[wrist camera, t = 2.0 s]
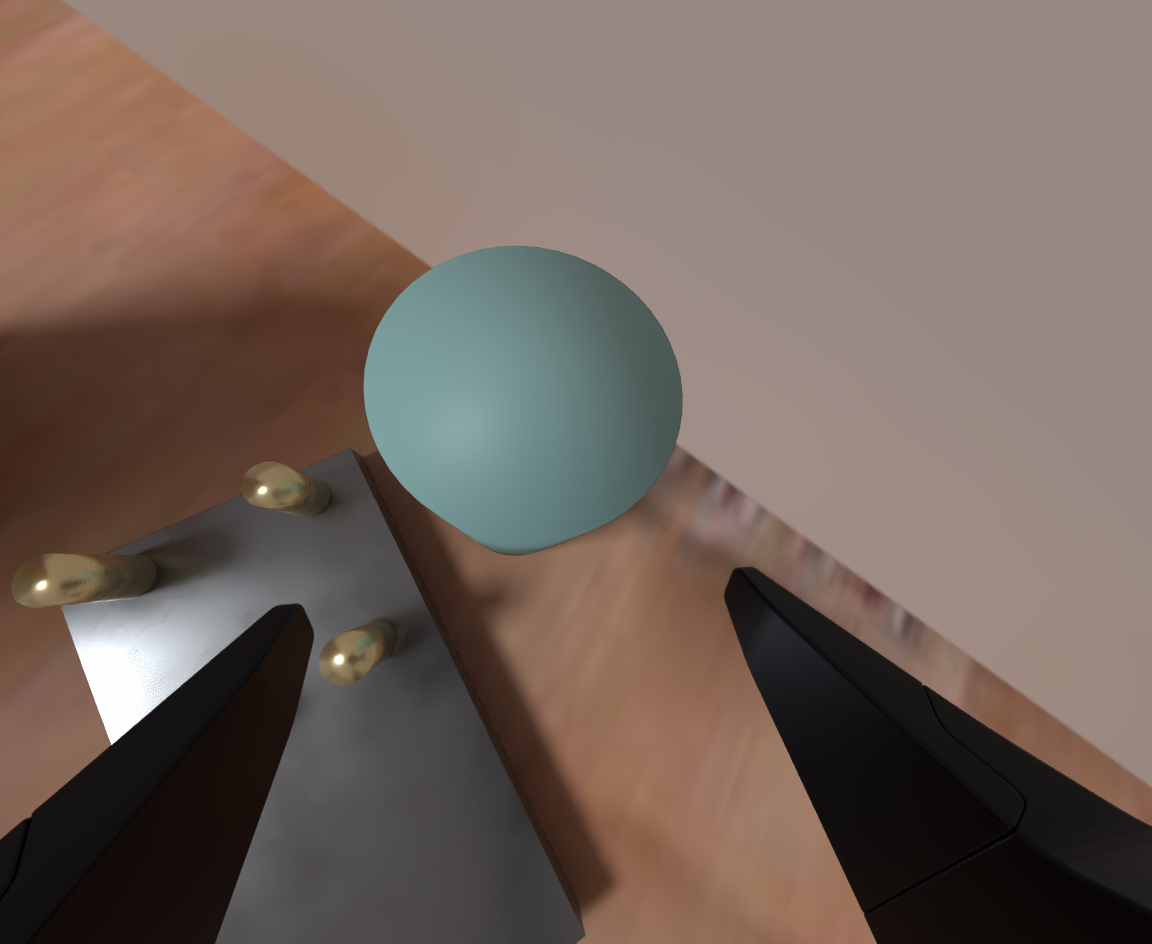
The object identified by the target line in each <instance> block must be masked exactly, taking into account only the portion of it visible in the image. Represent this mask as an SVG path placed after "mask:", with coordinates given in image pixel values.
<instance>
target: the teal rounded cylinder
mask: <svg viewBox="0 0 1152 944" xmlns="http://www.w3.org/2000/svg"><path fill="white" fill-rule="evenodd" d="M363 389H364V401H365V410H366V415H367V419H368V423H369V427H370V431H371V433H372V436H373V438H374V441H375V443H376V446H377V448H378V450H379V452H380V454H381V456H382V457H383V459H384V461H385V462H386V464H387V466H388V468H389V469H390V470H391V472H392V473H393V474H394V476H395V477H396V478H397V479H398V481H399V482H400V483H401V484H402V486H403V487H404V488H405V489H406V490H407V491H408V492H409V493H411V494H412V495H413V496H414V497H415V498H416V499H417V500H418V501H419V502H420V503H421V504H423V505H424V506H426V507H427V508H428V509H430V510H431V511H433V512H434V513H435V514H437V515H438V516H440V517H441V518H443V519H444V520H446V521H447V522H449V523H450V524H452V525H453V526H455V527H456V528H458V529H459V530H461V531H462V532H464V533H465V534H467V535H468V536H470V537H471V538H473V539H474V540H476V541H477V542H479V543H480V544H482V545H483V546H485V547H486V548H488V549H490V550H492V551H495V552H498V553H501V554H505V555H514V556H517V555H527V554H531V553H535V552H538V551H540V550H543V549H545V548H548V547H551V546H553V545H556V544H558V543H561V542H563V541H566V540H568V539H571V538H574V537H576V536H579V535H581V534H584V533H586V532H589V531H591V530H594V529H596V528H598V527H600V526H602V525H604V524H606V523H608V522H610V521H612V520H613V519H615V518H616V517H618V516H619V515H621V514H623V513H624V512H626V511H627V510H628V509H629V508H631V507H632V506H633V505H634V504H635V503H636V502H637V501H639V500H640V499H641V498H642V497H643V496H644V495H645V494H646V493H647V491H648V490H649V489H650V488H651V487H652V486H653V484H654V483H655V482H656V481H657V479H658V477H659V476H660V474H661V473H662V471H663V470H664V468H665V467H666V465H667V463H668V460H669V458H670V456H671V454H672V452H673V450H674V447H675V443H676V440H677V437H678V433H679V429H680V423H681V417H682V396H683V394H682V385H681V377H680V372H679V369H678V364H677V360H676V357H675V354H674V352H673V349H672V347H671V344H670V342H669V340H668V338H667V336H666V334H665V332H664V330H663V328H662V326H661V325H660V323H659V322H658V320H657V319H656V318H655V317H654V315H653V313H652V312H651V310H650V309H649V308H648V307H647V306H646V305H645V304H644V302H643V301H642V300H641V299H640V298H639V297H638V296H637V295H636V294H635V293H634V292H633V291H631V290H630V289H629V288H628V287H627V286H626V285H625V284H624V283H622V282H621V281H619V280H618V279H617V278H615V277H614V276H613V275H611V274H610V273H608V272H606V271H605V270H603V269H601V268H599V267H597V266H596V265H594V264H592V263H589V262H587V261H585V260H582V259H580V258H578V257H575V256H572V255H569V254H565V253H562V252H559V251H554V250H549V249H544V248H539V247H527V246H503V247H495V248H487V249H481V250H478V251H474V252H470V253H467V254H463V255H460V256H458V257H455V258H453V259H451V260H448V261H445V262H443V263H442V264H440V265H438V266H436V267H434V268H433V269H431V270H429V271H427V272H426V273H425V274H423V275H422V276H421V277H419V278H418V279H417V280H415V281H414V282H413V283H411V284H410V285H409V286H408V287H407V288H406V289H405V290H404V291H403V292H402V293H401V294H400V295H399V296H398V297H397V299H396V300H395V301H394V303H393V304H392V305H391V306H390V308H389V309H388V310H387V312H386V313H385V315H384V317H383V318H382V320H381V322H380V324H379V326H378V327H377V329H376V332H375V334H374V337H373V339H372V342H371V345H370V347H369V351H368V356H367V360H366V365H365V372H364V388H363Z"/></svg>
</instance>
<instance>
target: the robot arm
mask: <svg viewBox="0 0 1152 944" xmlns="http://www.w3.org/2000/svg"><path fill="white" fill-rule="evenodd" d="M724 598H725V603H726V606H727V608H728V611H729V614H730V617H731V620H732V623H733V626H734V628H735V631H736V634H737V637H738V640H739V643H740V645H741V648H742V651H743V654H744V657H745V659H746V662H747V664H748V667H749V669H750V671H751V674H752V676H753V678H754V680H755V682H756V685H757V687H758V689H759V691H760V693H761V695H762V697H763V700H764V702H765V704H766V706H767V708H768V710H769V712H770V715H771V717H772V719H773V721H774V723H775V725H776V727H777V730H778V732H779V734H780V736H781V738H782V740H783V742H784V745H785V747H786V749H787V751H788V753H789V755H790V757H791V760H792V762H793V764H794V766H795V768H796V770H797V772H798V775H799V777H800V779H801V781H802V783H803V785H804V787H805V790H806V792H807V794H808V796H809V798H810V800H811V802H812V805H813V807H814V809H815V811H816V813H817V815H818V817H819V820H820V822H821V824H822V826H823V828H824V830H825V832H826V835H827V837H828V839H829V841H830V843H831V845H832V847H833V850H834V852H835V854H836V856H837V858H838V860H839V862H840V865H841V867H842V869H843V871H844V873H845V875H846V877H847V880H848V882H849V884H850V886H851V888H852V890H853V892H854V895H855V897H856V899H857V901H858V903H859V905H860V907H861V910H862V911H863V912H864V917H865V919H866V921H867V923H868V925H869V927H870V930H871V932H872V934H873V936H874V938H875V940H876V942H877V944H1152V826H1150V825H1148V824H1146V823H1144V822H1142V821H1140V820H1139V819H1137V818H1135V817H1133V816H1131V815H1129V814H1128V813H1126V812H1124V811H1123V810H1121V809H1119V808H1118V807H1116V806H1114V805H1113V804H1111V803H1109V802H1108V801H1106V800H1104V799H1103V798H1101V797H1100V796H1098V795H1096V794H1095V793H1093V792H1091V791H1090V790H1088V789H1087V788H1085V787H1083V786H1082V785H1080V784H1078V783H1077V782H1075V781H1074V780H1072V779H1070V778H1069V777H1067V776H1065V775H1064V774H1062V773H1061V772H1059V771H1057V770H1056V769H1054V768H1052V767H1051V766H1049V765H1048V764H1046V763H1044V762H1043V761H1041V760H1040V759H1038V758H1036V757H1035V756H1033V755H1031V754H1030V753H1028V752H1027V751H1025V750H1023V749H1022V748H1020V747H1018V746H1017V745H1015V744H1014V743H1012V742H1011V741H1009V740H1007V739H1006V738H1004V737H1003V736H1001V735H1000V734H998V733H996V732H995V731H993V730H992V729H990V728H988V727H987V726H985V725H984V724H982V723H981V722H979V721H978V720H976V719H975V718H973V717H972V716H970V715H969V714H967V713H966V712H964V711H963V710H961V709H960V708H958V707H957V706H955V705H954V704H952V703H951V702H949V701H948V700H946V699H945V698H943V697H942V696H940V695H939V694H937V693H936V692H935V691H933V690H932V689H930V688H929V687H927V686H925V685H922V683H921V682H920V681H918V680H917V679H915V678H914V677H913V676H911V675H910V674H908V673H907V672H905V671H904V670H902V669H901V668H899V667H898V666H897V665H895V664H894V663H892V662H891V661H889V660H888V659H886V658H885V657H884V656H882V655H881V654H879V653H878V652H876V651H875V650H873V649H872V648H870V647H869V646H868V645H866V644H865V643H863V642H862V641H860V640H859V639H857V638H856V637H854V636H853V635H852V634H850V633H849V632H847V631H846V630H844V629H843V628H841V627H840V626H838V625H837V624H836V623H834V622H833V621H831V620H830V619H828V618H827V617H825V616H824V615H822V614H821V613H820V612H818V611H817V610H815V609H814V608H812V607H811V606H809V605H808V604H806V603H805V602H804V601H802V600H801V599H799V598H798V597H796V596H795V595H793V594H792V593H790V592H789V591H788V590H786V589H785V588H783V587H782V586H780V585H779V584H777V583H776V582H774V581H773V580H772V579H770V578H769V577H767V576H766V575H764V574H763V573H761V572H760V571H758V570H757V569H755V568H753V567H738V568H735V569H734V570H733V571H732V574H731V576H730V579H729V581H728V584H727V587H726V589H725V594H724ZM313 642H314V630H313V627H312V625H311V623H310V620H309V618H308V616H307V614H306V612H305V609H304V607H303V606H302V605H301V604H299V603H293V604H281V605H277V606H274V607H273V608H271V609H270V610H269V611H268V612H266V613H265V614H264V615H263V616H262V617H261V618H259V619H258V620H257V621H256V622H255V623H254V624H252V625H251V626H250V627H249V628H248V629H247V630H245V631H244V632H243V633H242V634H241V635H240V636H238V637H237V638H236V639H235V640H234V641H232V642H231V643H230V644H229V645H228V646H227V647H225V648H224V649H223V650H222V651H221V652H220V653H218V654H217V655H216V656H215V657H214V658H213V659H211V660H210V661H209V662H208V663H207V664H206V665H204V666H203V667H202V668H201V669H200V670H199V671H197V672H196V673H195V674H194V675H193V676H192V677H190V678H189V679H188V680H187V681H186V682H185V683H183V684H182V685H181V686H180V687H179V688H178V689H176V690H175V691H174V692H173V693H172V694H170V695H169V696H168V697H167V698H166V699H165V700H163V701H162V702H161V703H160V704H159V705H158V706H156V707H155V708H154V709H153V710H152V711H151V712H149V713H148V714H147V715H146V716H145V717H144V718H142V719H141V720H140V721H139V722H138V723H137V724H135V725H134V726H133V727H132V728H131V729H130V730H128V731H127V732H126V733H125V734H124V735H123V736H121V737H120V738H119V739H118V740H117V741H116V742H114V743H113V744H112V745H111V746H110V747H108V748H107V749H106V750H105V751H104V752H103V753H101V754H100V755H99V756H98V757H97V758H96V759H94V760H93V761H92V762H91V763H90V764H89V765H87V766H86V767H85V768H84V769H83V770H82V771H80V772H79V773H78V774H77V775H76V776H75V777H73V778H72V779H71V780H70V781H69V782H68V783H66V784H65V785H64V786H63V787H62V788H61V789H59V790H58V791H57V792H56V793H55V794H54V795H52V796H51V797H50V798H49V799H48V800H47V801H45V802H44V803H43V804H42V805H41V806H39V807H38V808H37V809H36V810H35V811H34V812H33V813H32V816H31V818H26V819H24V820H23V821H22V822H20V823H19V824H18V825H17V826H16V827H15V828H13V829H12V830H11V831H10V832H9V833H8V834H6V835H5V836H4V837H3V838H2V839H1V840H0V944H215V943H216V940H217V937H218V934H219V932H220V929H221V926H222V923H223V920H224V918H225V915H226V912H227V909H228V906H229V904H230V901H231V898H232V895H233V892H234V890H235V887H236V884H237V881H238V878H239V876H240V873H241V870H242V867H243V864H244V862H245V859H246V856H247V853H248V850H249V848H250V845H251V842H252V839H253V836H254V834H255V831H256V828H257V825H258V822H259V820H260V817H261V814H262V811H263V808H264V806H265V803H266V800H267V797H268V794H269V792H270V789H271V786H272V783H273V780H274V778H275V775H276V772H277V769H278V767H279V764H280V761H281V758H282V755H283V753H284V750H285V747H286V744H287V741H288V739H289V736H290V733H291V729H292V726H293V723H294V720H295V716H296V712H297V708H298V704H299V700H300V696H301V692H302V688H303V684H304V679H305V675H306V671H307V667H308V663H309V659H310V655H311V650H312V646H313Z"/></svg>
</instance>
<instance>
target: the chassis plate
mask: <svg viewBox="0 0 1152 944" xmlns="http://www.w3.org/2000/svg"><path fill="white" fill-rule="evenodd" d="M241 492H242V495H240V496H238V497H236V498H233V499H231V500H229V501H226V502H224V503H222V504H219V505H217V506H215V507H212V508H210V509H208V510H205V511H203V512H201V513H198V514H196V515H194V516H192V517H189V518H187V519H185V520H182V521H180V522H178V523H175V524H173V525H171V526H168V527H166V528H164V529H161V530H159V531H157V532H154V533H152V534H150V535H147V536H145V537H143V538H140V539H138V540H136V541H133V542H131V543H129V544H126V545H124V546H122V547H120V548H117V549H115V550H113V551H110V552H108V553H106V554H103V555H101V554H52V553H51V554H42V555H38V556H36V557H33V558H31V559H29V560H28V561H26V562H25V563H24V564H22V565H21V566H20V567H19V568H18V570H17V571H16V572H15V574H14V576H13V578H12V581H11V593H12V595H13V597H14V599H15V600H16V601H17V602H18V603H19V604H21V605H23V606H26V607H30V608H41V607H52V606H61V609H62V611H63V614H64V617H65V620H66V622H67V625H68V628H69V630H70V633H71V636H72V639H73V641H74V644H75V647H76V649H77V652H78V655H79V658H80V660H81V663H82V666H83V668H84V671H85V674H86V677H87V679H88V682H89V685H90V687H91V690H92V693H93V696H94V698H95V701H96V704H97V707H98V709H99V712H100V715H101V717H102V720H103V723H104V726H105V728H106V731H107V734H108V736H109V739H110V742H111V745H112V744H113V743H114V742H116V741H117V740H118V739H119V738H120V737H121V736H123V735H124V734H125V733H126V732H127V731H128V730H130V729H131V728H132V727H133V726H134V725H135V724H137V723H138V722H139V721H140V720H141V719H142V718H144V717H145V716H146V715H147V714H148V713H149V712H151V711H152V710H153V709H154V708H155V707H156V706H158V705H159V704H160V703H161V702H162V701H163V700H165V699H166V698H167V697H168V696H169V695H170V694H172V693H173V692H174V691H175V690H176V689H178V688H179V687H180V686H181V685H182V684H183V683H185V682H186V681H187V680H188V679H189V678H190V677H192V676H193V675H194V674H195V673H196V672H197V671H199V670H200V669H201V668H202V667H203V666H204V665H206V664H207V663H208V662H209V661H210V660H211V659H213V658H214V657H215V656H216V655H217V654H218V653H220V652H221V651H222V650H223V649H224V648H225V647H227V646H228V645H229V644H230V643H231V642H232V641H234V640H235V639H236V638H237V637H238V636H240V635H241V634H242V633H243V632H244V631H245V630H247V629H248V628H249V627H250V626H251V625H252V624H254V623H255V622H256V621H257V620H258V619H259V618H261V617H262V616H263V615H264V614H265V613H266V612H268V611H269V610H270V609H271V608H273V607H274V606H277V605H281V604H293V603H299V604H301V605H302V606H303V607H304V609H305V612H306V614H307V616H308V618H309V620H310V623H311V625H312V627H313V630H314V642H313V646H312V650H311V655H310V659H309V663H308V667H307V671H306V675H305V679H304V684H303V688H302V692H301V696H300V700H299V704H298V708H297V712H296V716H295V720H294V723H293V726H292V729H291V733H290V736H289V739H288V741H287V744H286V747H285V750H284V753H283V755H282V758H281V761H280V764H279V767H278V769H277V772H276V775H275V778H274V780H273V783H272V786H271V789H270V792H269V794H268V797H267V800H266V803H265V806H264V808H263V811H262V814H261V817H260V820H259V822H258V825H257V828H256V831H255V834H254V836H253V839H252V842H251V845H250V848H249V850H248V853H247V856H246V859H245V862H244V864H243V867H242V870H241V873H240V876H239V878H238V881H237V884H236V887H235V890H234V892H233V895H232V898H231V901H230V904H229V906H228V909H227V912H226V915H225V918H224V920H223V923H222V926H221V929H220V932H219V934H218V937H217V940H216V943H215V944H576V943H577V942H578V941H579V940H581V939H582V938H583V937H584V936H585V931H584V927H583V922H582V917H581V912H580V907H579V903H578V901H577V899H576V896H575V894H574V892H573V890H572V888H571V886H570V884H569V882H568V880H567V878H566V876H565V874H564V872H563V870H562V868H561V866H560V863H559V861H558V859H557V857H556V855H555V853H554V851H553V849H552V847H551V845H550V843H549V841H548V839H547V837H546V835H545V833H544V830H543V828H542V826H541V824H540V822H539V820H538V818H537V816H536V814H535V812H534V810H533V808H532V806H531V804H530V802H529V800H528V797H527V795H526V793H525V791H524V789H523V787H522V785H521V783H520V781H519V779H518V777H517V775H516V773H515V771H514V769H513V767H512V764H511V762H510V760H509V758H508V756H507V754H506V752H505V750H504V748H503V746H502V744H501V742H500V740H499V738H498V736H497V734H496V731H495V729H494V727H493V725H492V723H491V721H490V719H489V717H488V715H487V713H486V711H485V709H484V707H483V705H482V703H481V700H480V698H479V696H478V694H477V692H476V690H475V688H474V686H473V684H472V682H471V680H470V678H469V676H468V674H467V672H466V670H465V667H464V665H463V663H462V661H461V659H460V657H459V655H458V653H457V651H456V649H455V647H454V645H453V643H452V641H451V639H450V637H449V634H448V632H447V630H446V628H445V626H444V624H443V622H442V620H441V618H440V616H439V614H438V612H437V610H436V608H435V606H434V604H433V601H432V599H431V597H430V595H429V593H428V591H427V589H426V587H425V585H424V583H423V581H422V579H421V577H420V575H419V573H418V571H417V568H416V566H415V564H414V562H413V560H412V558H411V556H410V554H409V552H408V550H407V548H406V546H405V544H404V542H403V540H402V538H401V535H400V533H399V531H398V529H397V527H396V525H395V523H394V521H393V519H392V517H391V515H390V513H389V511H388V509H387V507H386V504H385V502H384V500H383V498H382V496H381V494H380V492H379V490H378V488H377V486H376V484H375V482H374V480H373V478H372V476H371V474H370V471H369V469H368V467H367V465H366V463H365V461H364V459H363V457H362V456H361V455H359V454H358V453H356V452H355V451H354V450H352V449H351V448H349V449H347V450H345V451H342V452H340V453H338V454H336V455H333V456H331V457H329V458H326V459H324V460H322V461H319V462H317V463H315V464H312V465H310V466H308V467H305V468H303V469H301V470H298V471H297V470H295V469H292V468H290V467H288V466H285V465H283V464H281V463H278V462H273V461H267V462H261V463H259V464H256V465H255V466H253V467H251V468H250V469H249V470H248V471H247V472H246V474H245V475H244V477H243V479H242V482H241Z"/></svg>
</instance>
